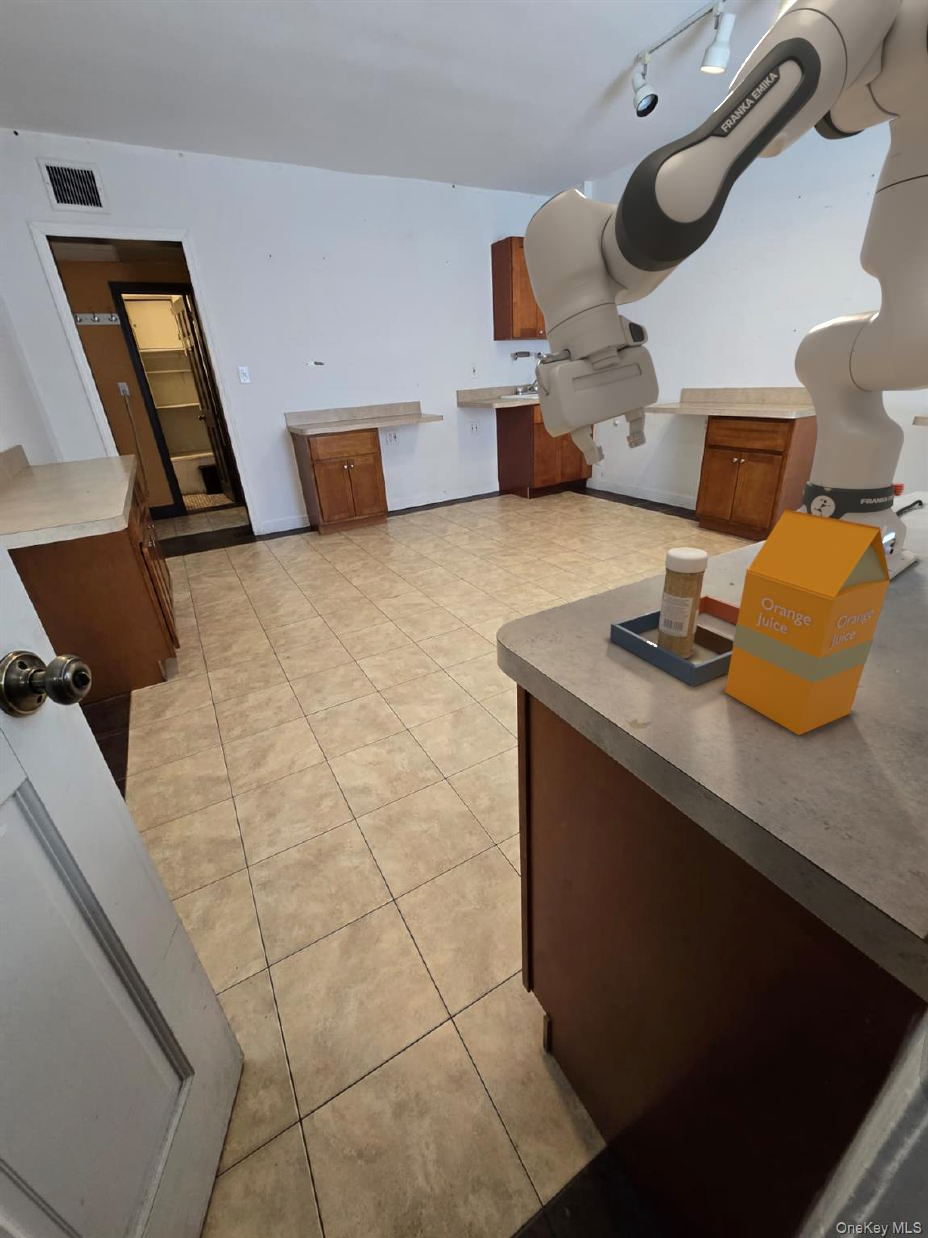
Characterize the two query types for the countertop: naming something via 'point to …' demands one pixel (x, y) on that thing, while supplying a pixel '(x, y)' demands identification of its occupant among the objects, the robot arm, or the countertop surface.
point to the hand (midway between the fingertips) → (618, 454)
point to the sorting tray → (670, 662)
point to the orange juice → (808, 619)
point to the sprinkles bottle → (681, 599)
